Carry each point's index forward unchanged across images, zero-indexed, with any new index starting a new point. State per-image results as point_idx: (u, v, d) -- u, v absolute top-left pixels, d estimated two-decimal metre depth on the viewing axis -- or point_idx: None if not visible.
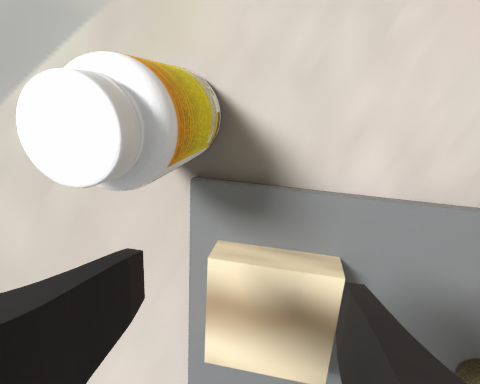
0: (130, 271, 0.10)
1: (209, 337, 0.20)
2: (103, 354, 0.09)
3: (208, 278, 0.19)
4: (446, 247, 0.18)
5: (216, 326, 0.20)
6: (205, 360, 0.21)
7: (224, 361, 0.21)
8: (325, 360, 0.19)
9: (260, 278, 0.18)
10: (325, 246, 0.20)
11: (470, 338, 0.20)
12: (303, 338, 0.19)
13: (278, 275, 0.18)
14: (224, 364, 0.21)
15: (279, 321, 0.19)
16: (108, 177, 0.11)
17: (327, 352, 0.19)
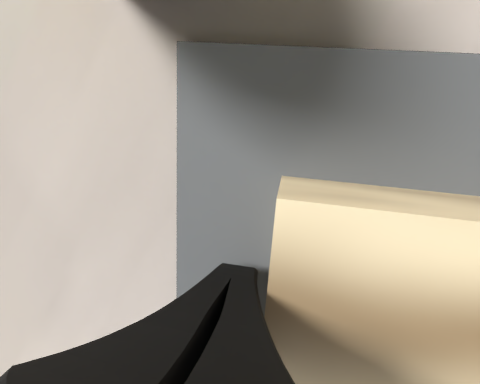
0: None
1: None
2: None
3: (274, 247, 0.08)
4: None
5: (285, 352, 0.09)
6: None
7: None
8: None
9: (402, 244, 0.08)
10: (458, 175, 0.09)
11: None
12: None
13: (451, 237, 0.07)
14: None
15: (436, 344, 0.08)
16: None
17: None
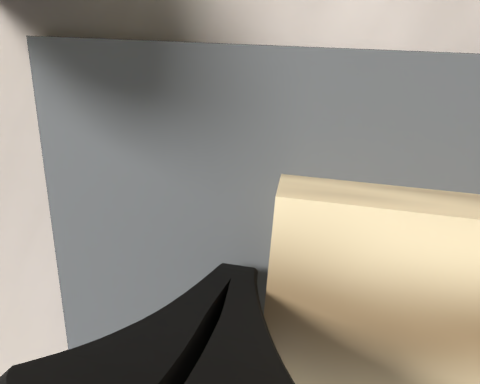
0: None
1: None
2: None
3: (273, 245, 0.08)
4: None
5: (285, 350, 0.09)
6: None
7: None
8: None
9: (401, 241, 0.08)
10: (278, 158, 0.10)
11: None
12: None
13: (450, 234, 0.07)
14: None
15: (435, 343, 0.08)
16: None
17: None
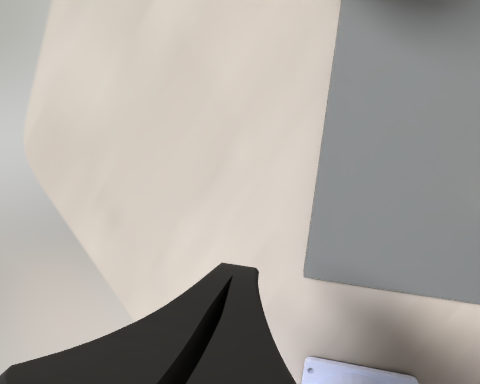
0: None
1: None
2: None
3: None
4: None
5: None
6: None
7: None
8: None
9: None
10: None
11: None
12: None
13: None
14: None
15: None
16: None
17: None
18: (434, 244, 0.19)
